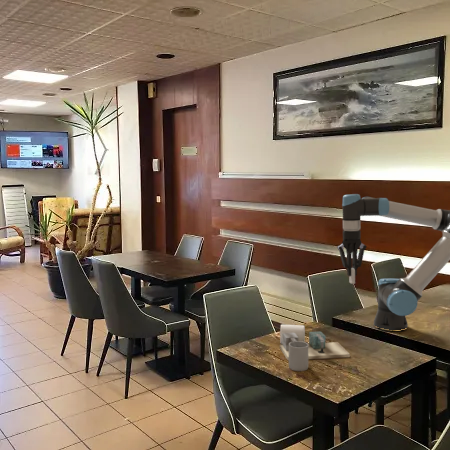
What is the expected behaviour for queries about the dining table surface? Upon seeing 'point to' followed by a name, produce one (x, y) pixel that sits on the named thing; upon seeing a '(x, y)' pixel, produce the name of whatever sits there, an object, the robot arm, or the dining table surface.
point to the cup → (298, 356)
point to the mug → (293, 331)
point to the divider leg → (317, 340)
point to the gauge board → (328, 352)
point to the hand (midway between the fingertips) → (352, 282)
